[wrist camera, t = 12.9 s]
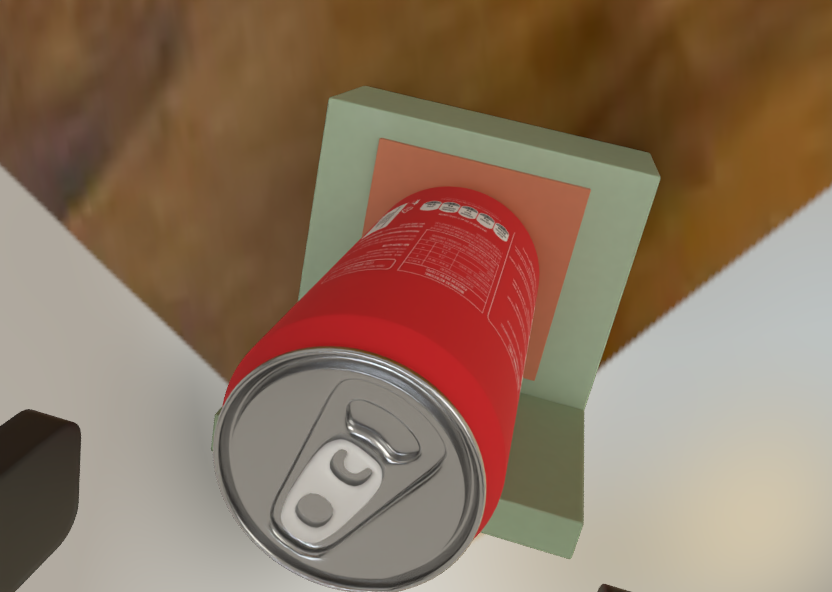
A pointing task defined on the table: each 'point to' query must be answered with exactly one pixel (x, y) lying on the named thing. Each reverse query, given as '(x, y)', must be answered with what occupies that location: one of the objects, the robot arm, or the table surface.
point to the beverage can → (386, 399)
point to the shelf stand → (555, 246)
